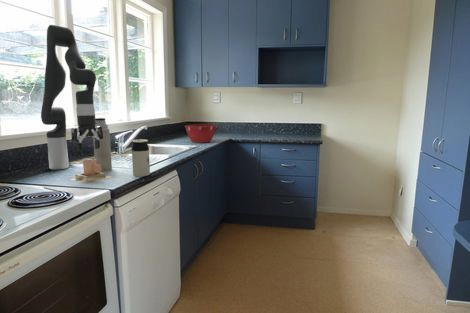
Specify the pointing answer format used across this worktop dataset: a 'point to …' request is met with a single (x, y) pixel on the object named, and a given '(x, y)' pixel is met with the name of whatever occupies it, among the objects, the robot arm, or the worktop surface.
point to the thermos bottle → (103, 147)
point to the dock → (90, 177)
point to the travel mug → (140, 158)
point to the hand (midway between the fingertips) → (88, 149)
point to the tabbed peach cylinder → (91, 166)
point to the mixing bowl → (200, 132)
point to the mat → (51, 189)
